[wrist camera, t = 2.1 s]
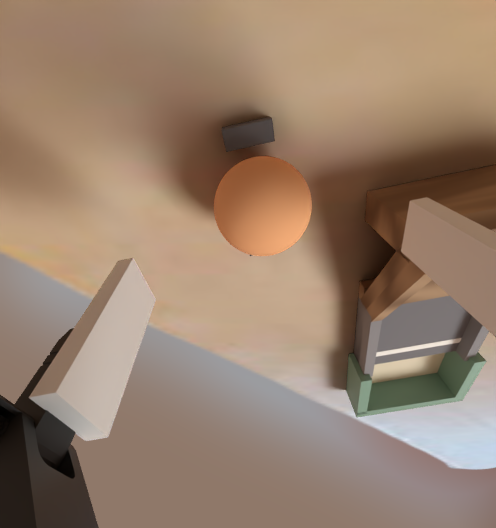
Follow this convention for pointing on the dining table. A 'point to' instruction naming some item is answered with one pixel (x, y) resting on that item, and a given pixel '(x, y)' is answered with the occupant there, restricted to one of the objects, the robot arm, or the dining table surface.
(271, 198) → the ball
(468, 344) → the runway
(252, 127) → the grey flat pieces
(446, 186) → the ramp
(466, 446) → the dining table surface
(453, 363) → the green open tray
